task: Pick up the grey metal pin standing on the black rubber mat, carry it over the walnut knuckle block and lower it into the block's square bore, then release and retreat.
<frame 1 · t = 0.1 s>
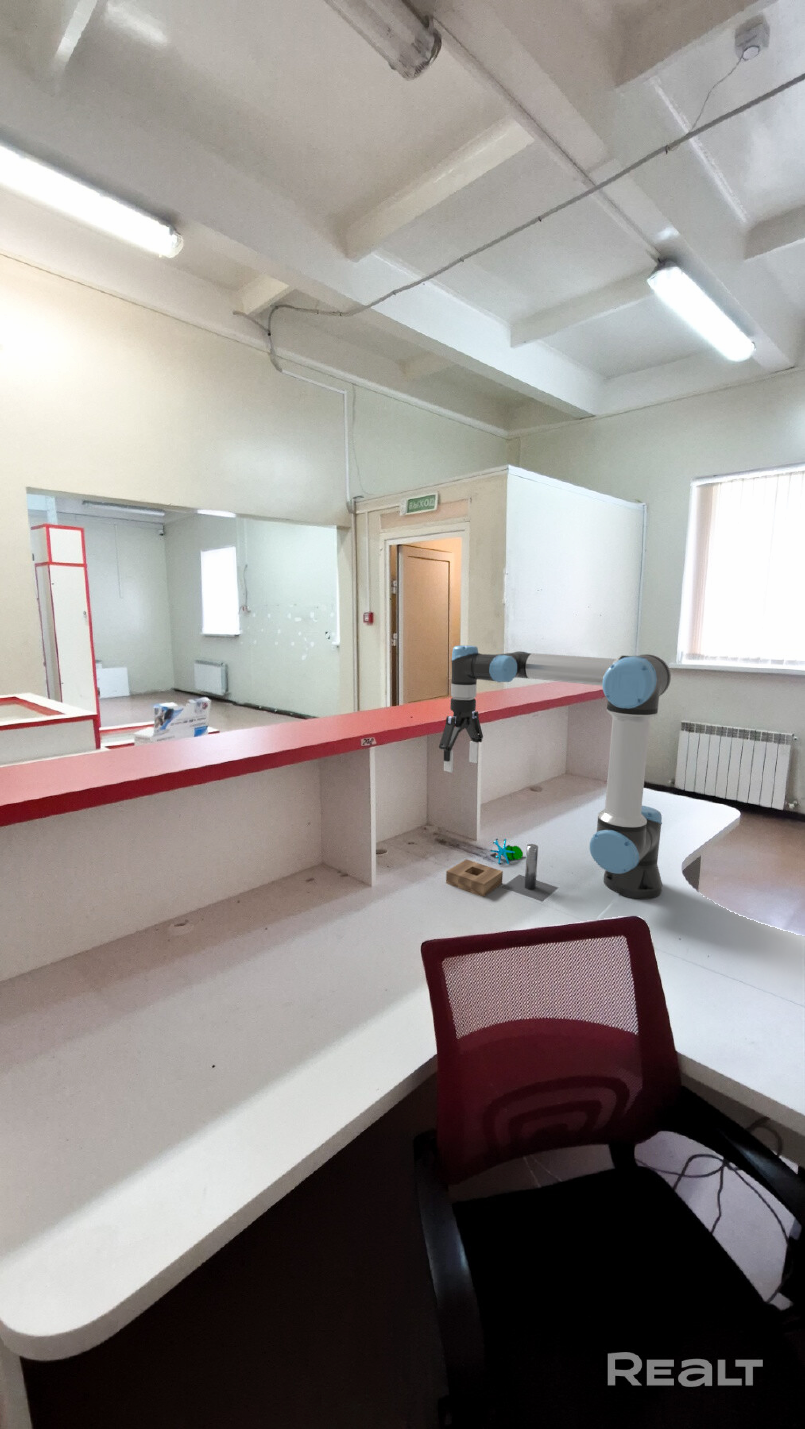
hand: (461, 766, 178), 28 cm above the table, fingers open, 13 cm apart
stick construction toy: (503, 860, 179), on the table
mat: (530, 888, 160), on the table
pin: (530, 887, 160), resting on mat
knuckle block: (474, 884, 162), on the table
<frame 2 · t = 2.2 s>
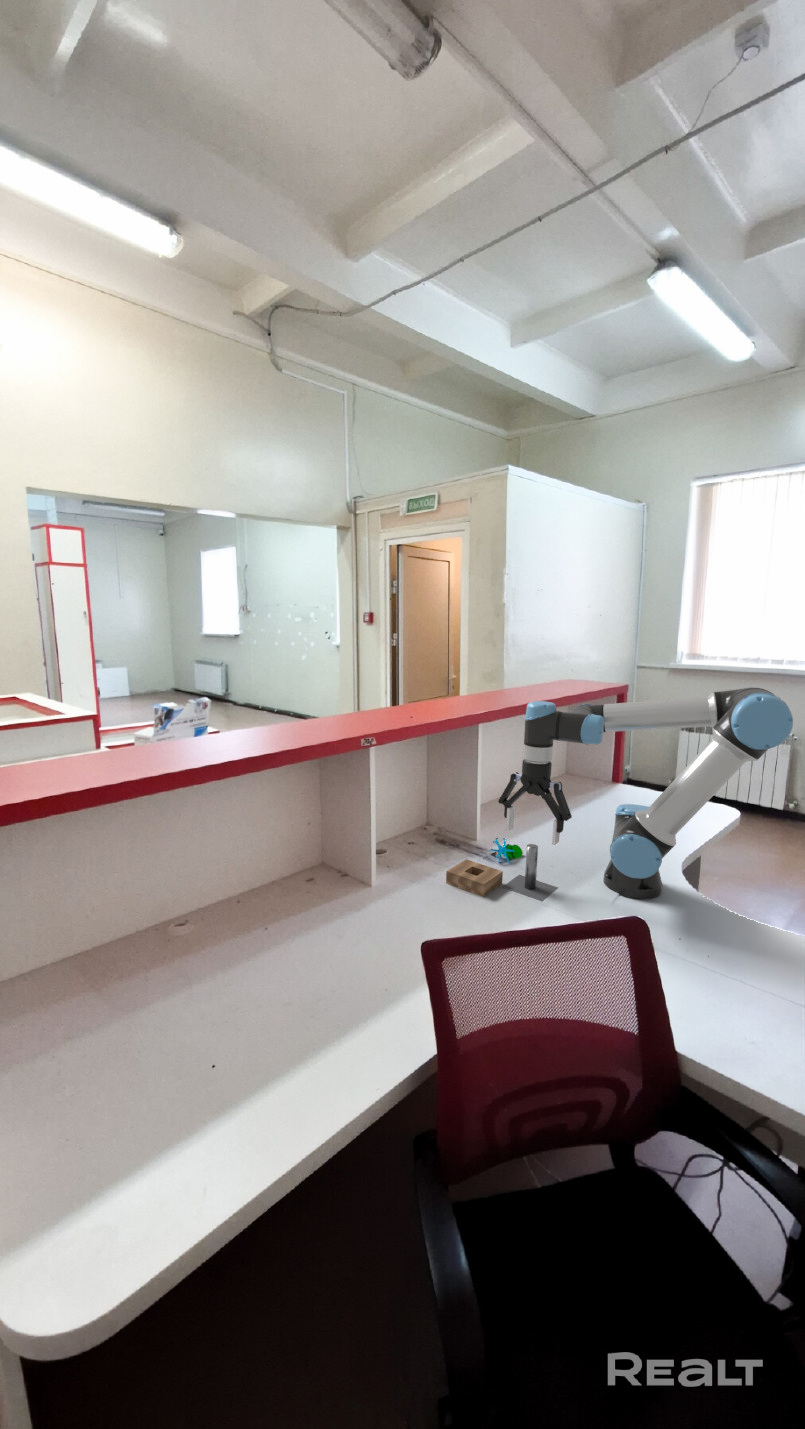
hand: (531, 836, 158), 15 cm above the table, fingers open, 13 cm apart
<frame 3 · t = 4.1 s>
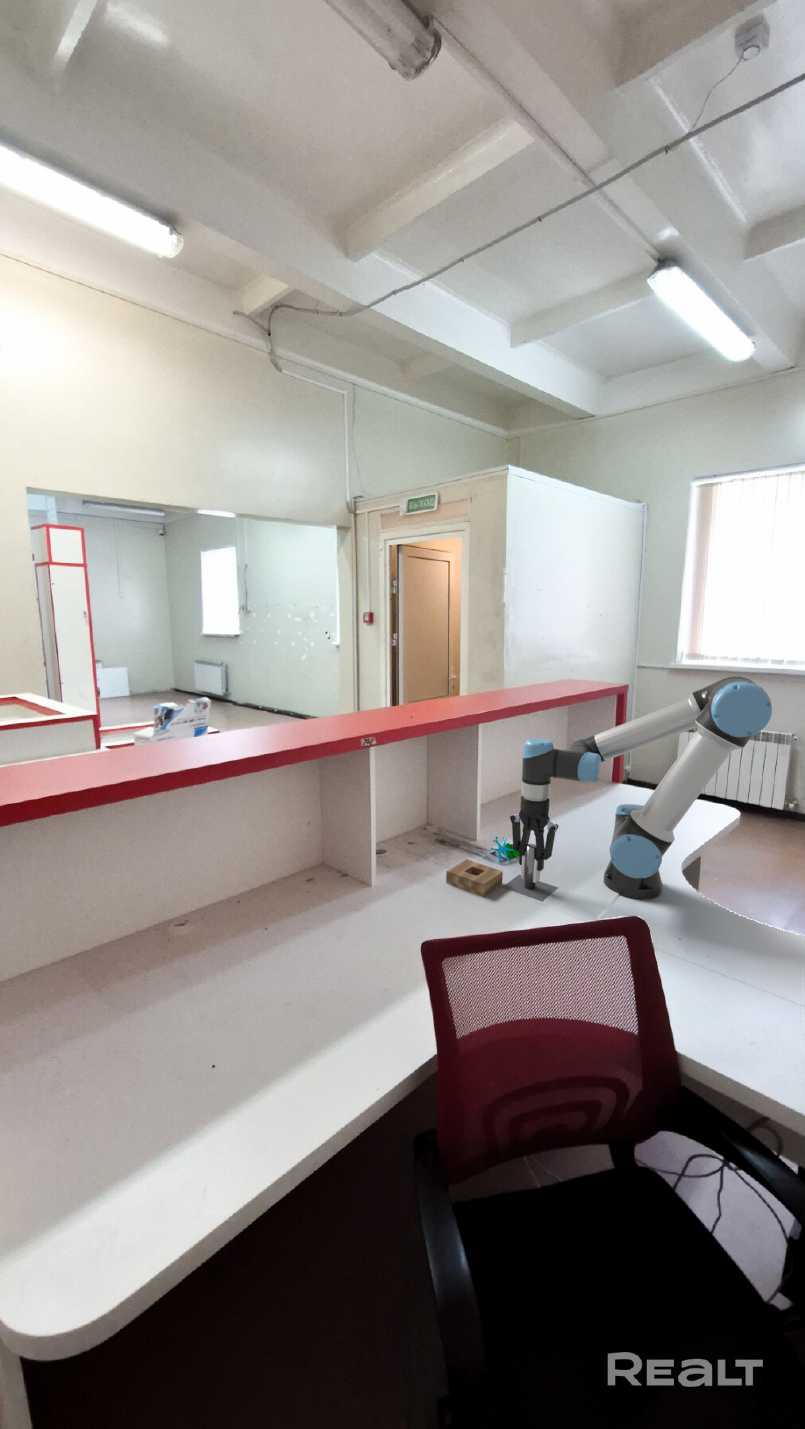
hand: (530, 878, 160), 3 cm above the table, fingers closed on pin, 3 cm apart
pin: (529, 887, 160), resting on mat, touching gripper
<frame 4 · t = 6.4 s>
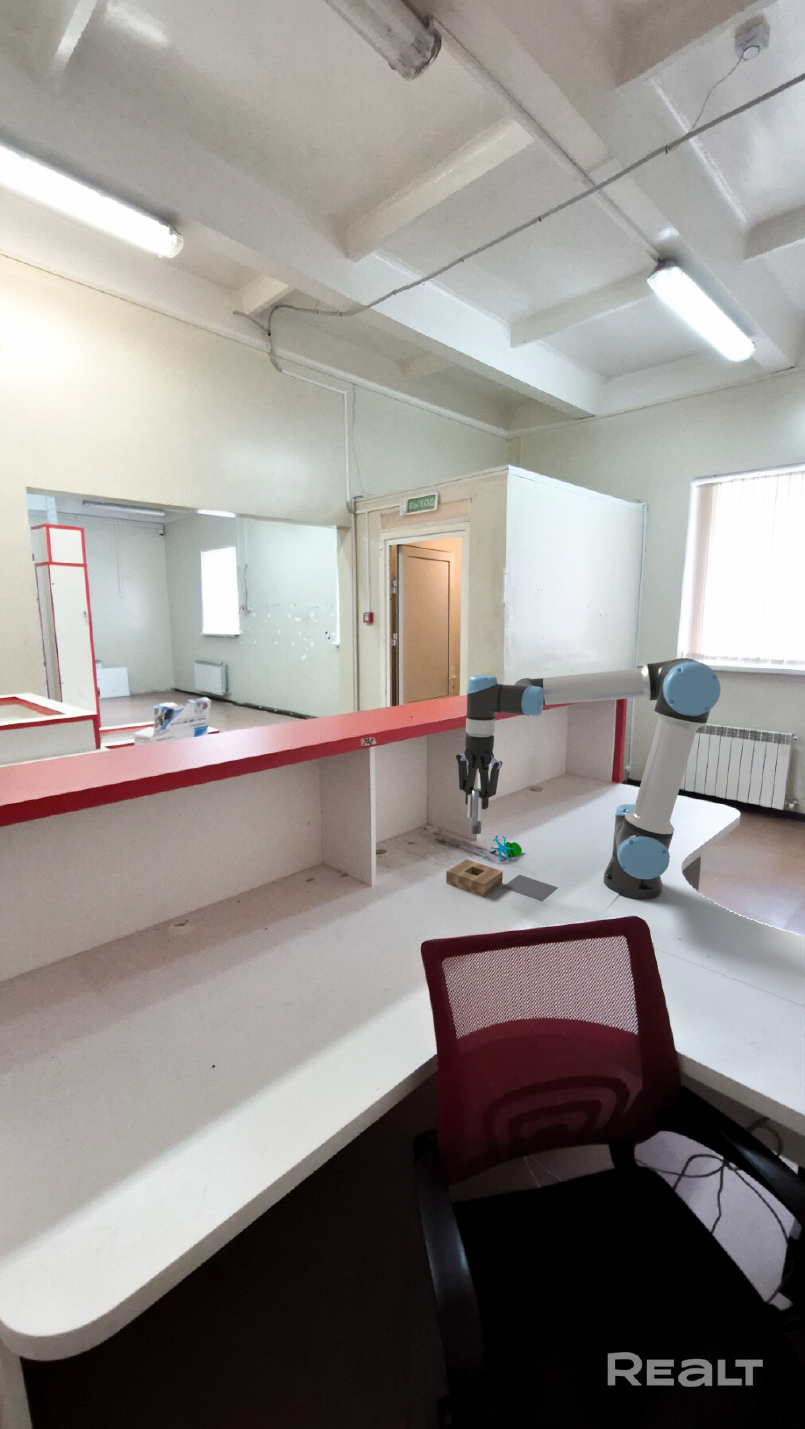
hand: (476, 817, 159), 19 cm above the table, fingers closed on pin, 3 cm apart
pin: (475, 832, 160), point 15 cm above the table, touching gripper
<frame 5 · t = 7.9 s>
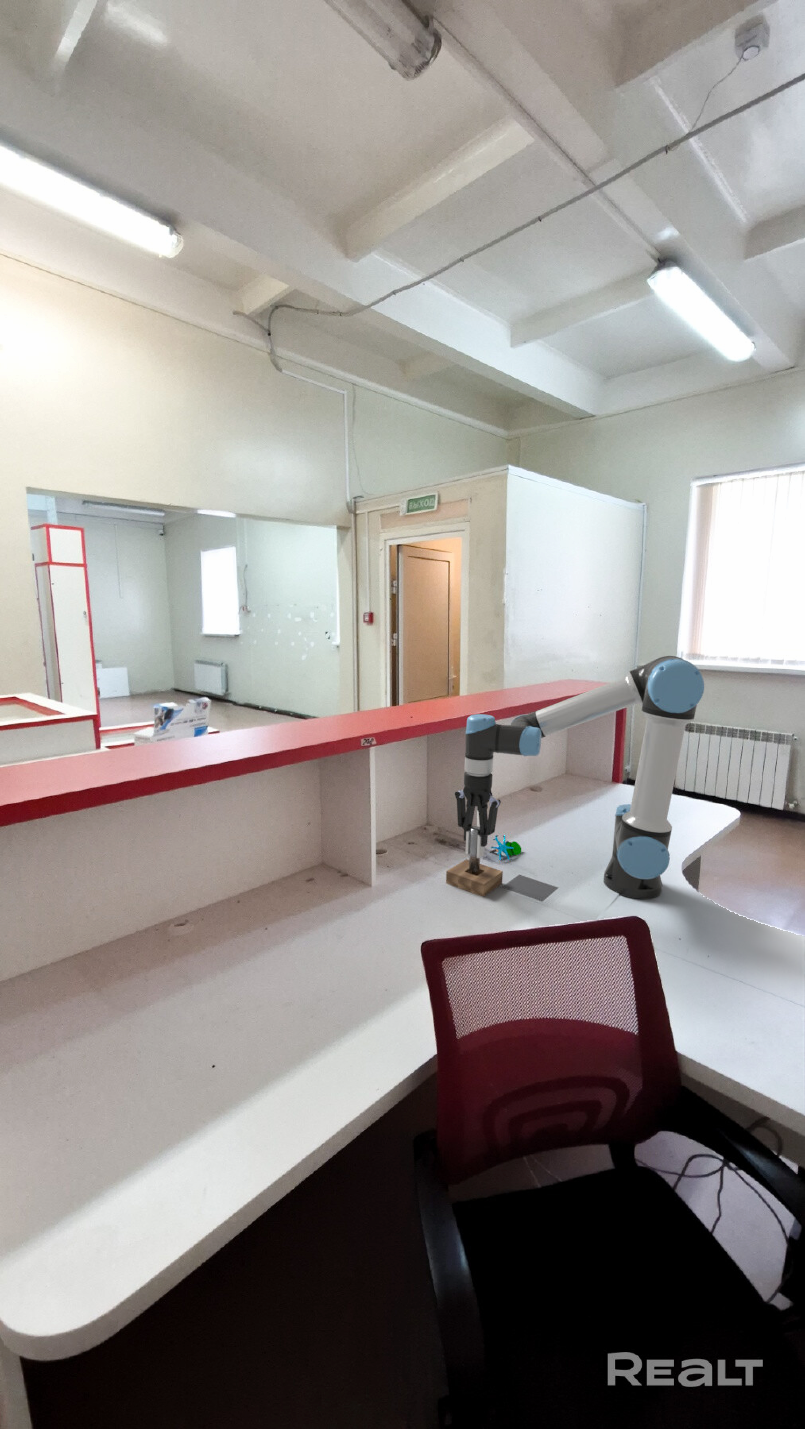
hand: (474, 854, 161), 9 cm above the table, fingers closed on pin, 3 cm apart
pin: (474, 869, 162), point 5 cm above the table, touching gripper
when the fingers open (5 cm above the table, at t = 8.8 s): pin stays where it is, resting in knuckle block.
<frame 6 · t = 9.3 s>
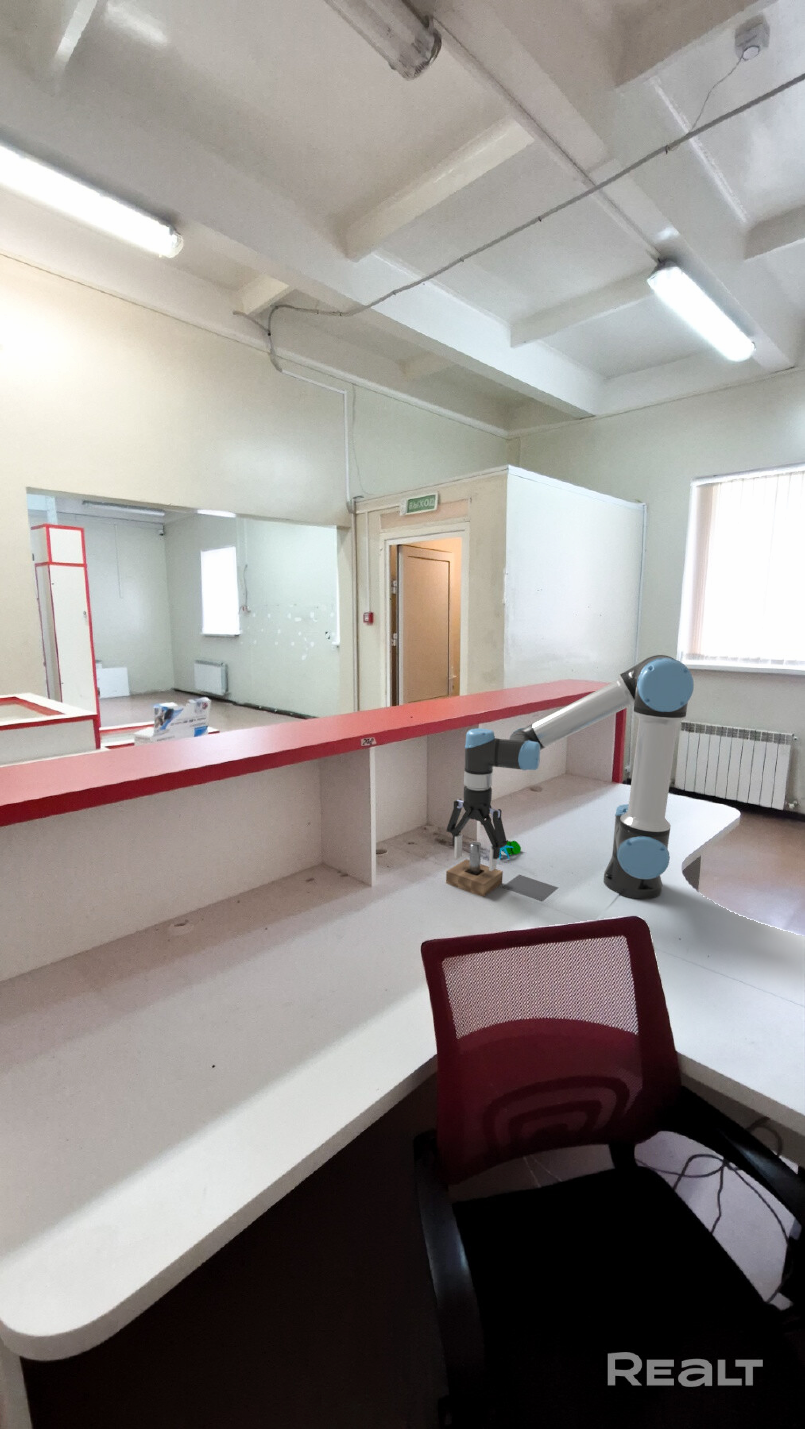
hand: (474, 863, 161), 6 cm above the table, fingers open, 10 cm apart
pin: (474, 884, 162), resting in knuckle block
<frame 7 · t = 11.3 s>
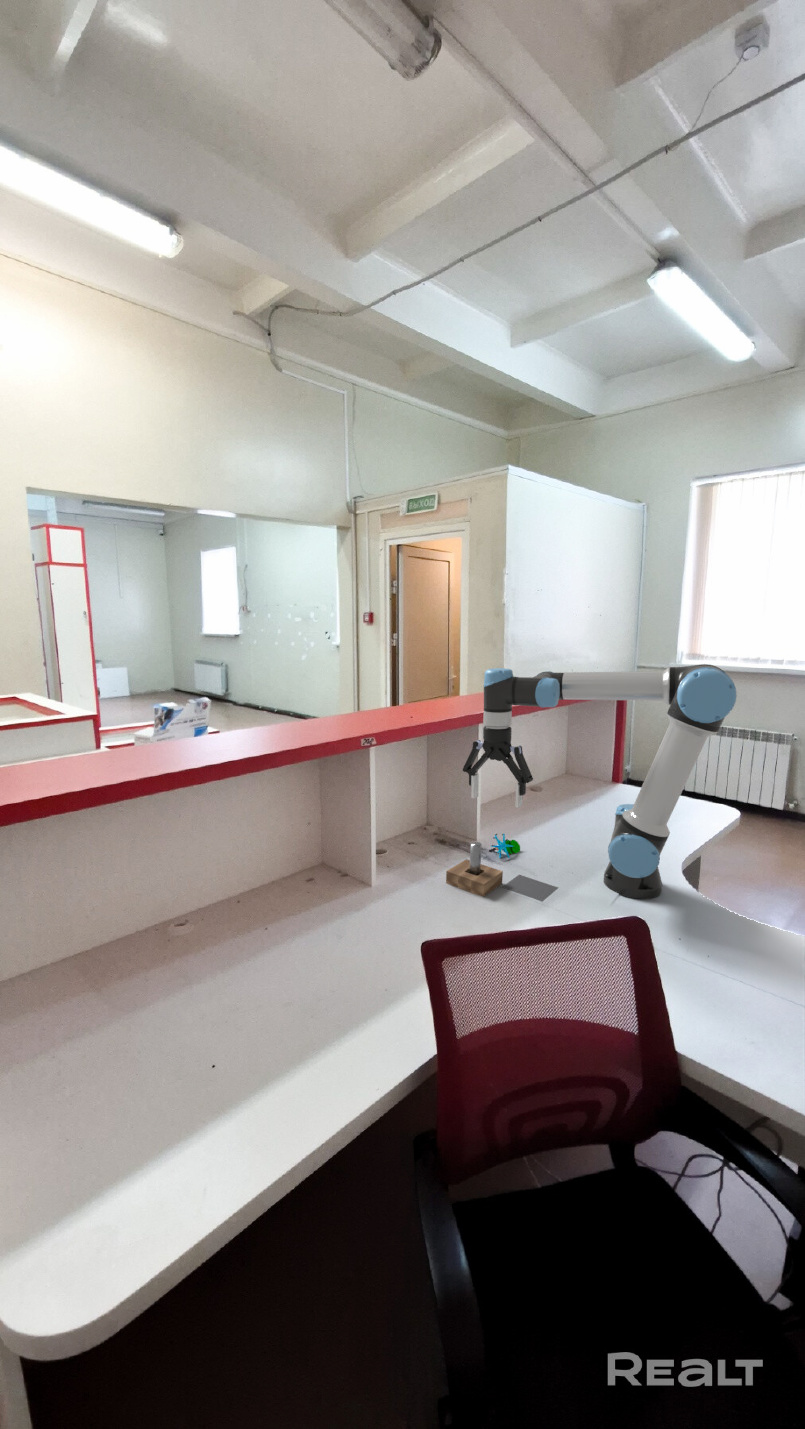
hand: (496, 801, 161), 23 cm above the table, fingers open, 13 cm apart
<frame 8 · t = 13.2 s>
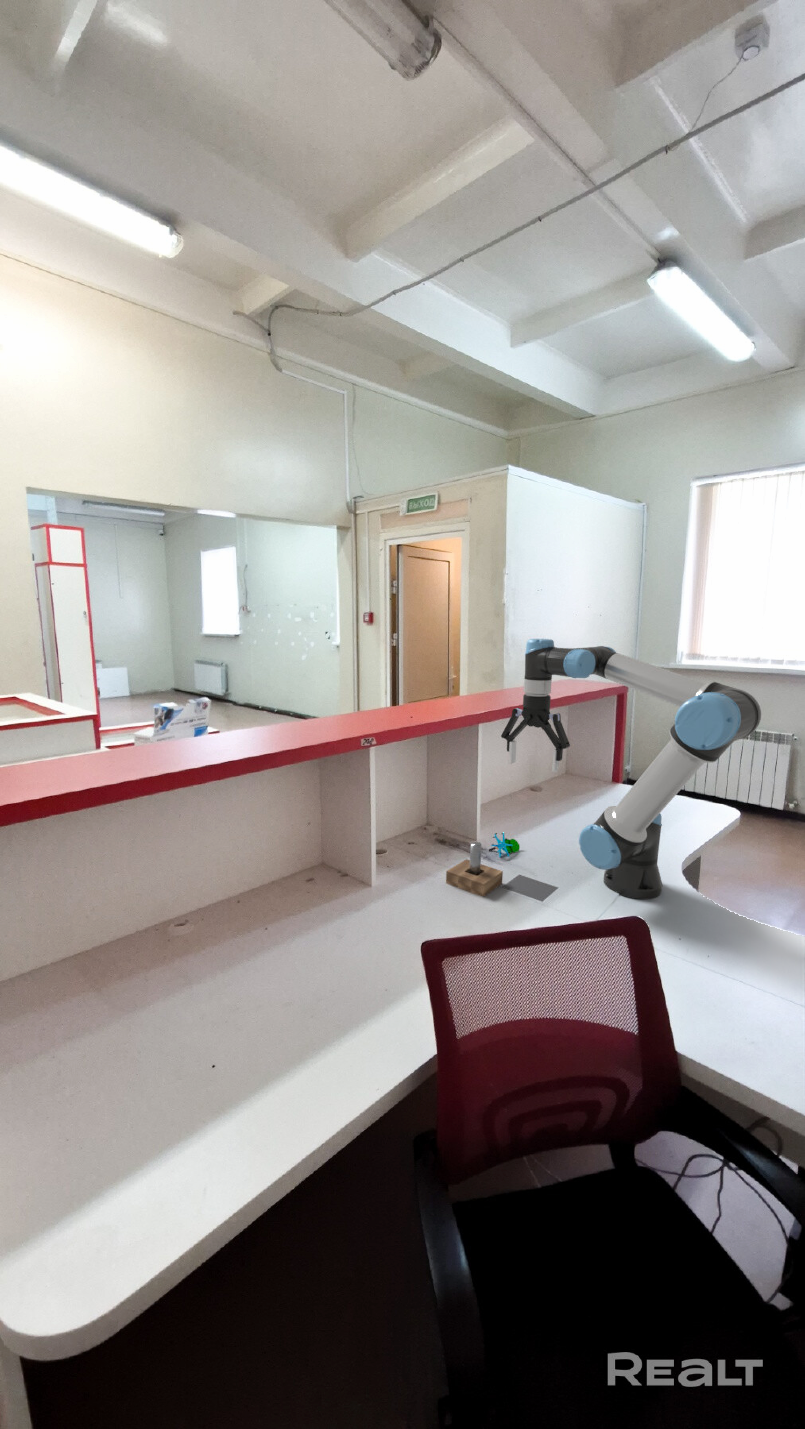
hand: (532, 767, 168), 31 cm above the table, fingers open, 13 cm apart
at the end: pin 0.1 cm off-centre on the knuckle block, point 0.0 cm above the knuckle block's base; pin tilted 0°; the gripper is holding nothing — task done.
